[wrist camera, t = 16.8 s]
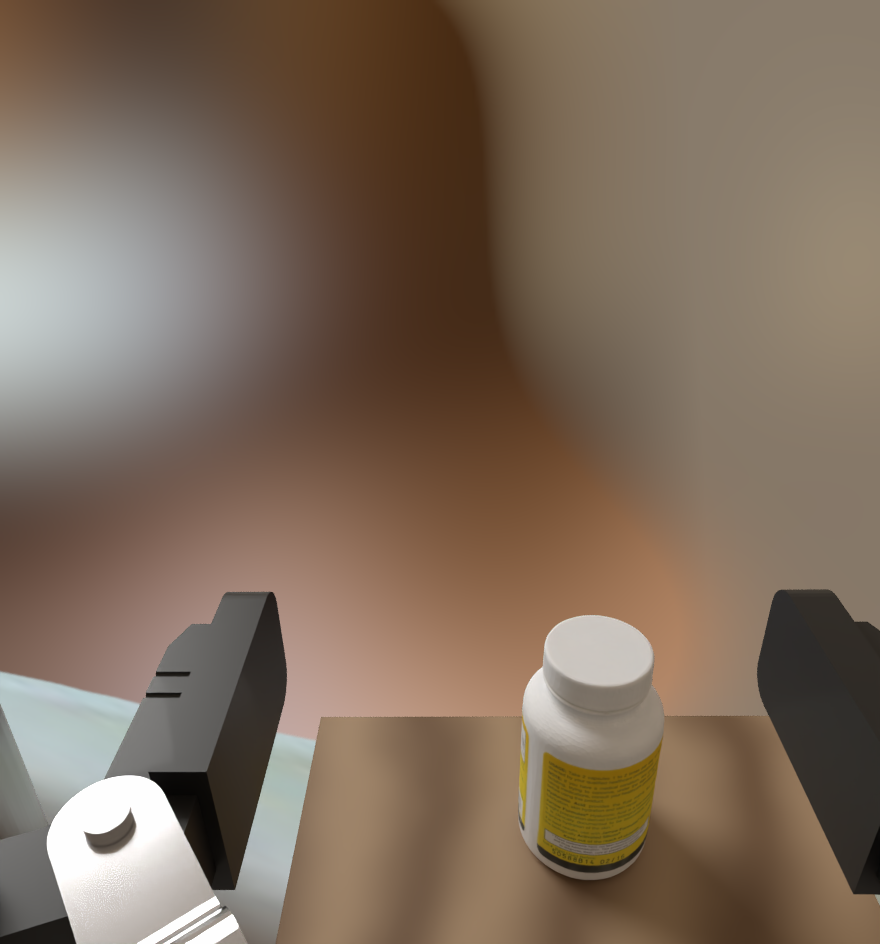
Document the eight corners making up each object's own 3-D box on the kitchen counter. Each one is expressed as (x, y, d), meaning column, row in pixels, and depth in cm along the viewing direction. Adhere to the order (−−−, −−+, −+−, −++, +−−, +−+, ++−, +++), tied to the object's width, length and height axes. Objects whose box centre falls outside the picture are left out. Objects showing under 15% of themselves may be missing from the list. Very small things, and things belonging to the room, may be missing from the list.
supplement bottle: (673, 849, 32) (708, 670, 27) (564, 908, 30) (581, 726, 25) (594, 756, 36) (612, 587, 31) (494, 802, 34) (496, 629, 29)
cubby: (312, 1155, 35) (270, 967, 28) (345, 902, 46) (321, 717, 39) (820, 1161, 35) (912, 970, 27) (735, 903, 45) (785, 715, 38)
